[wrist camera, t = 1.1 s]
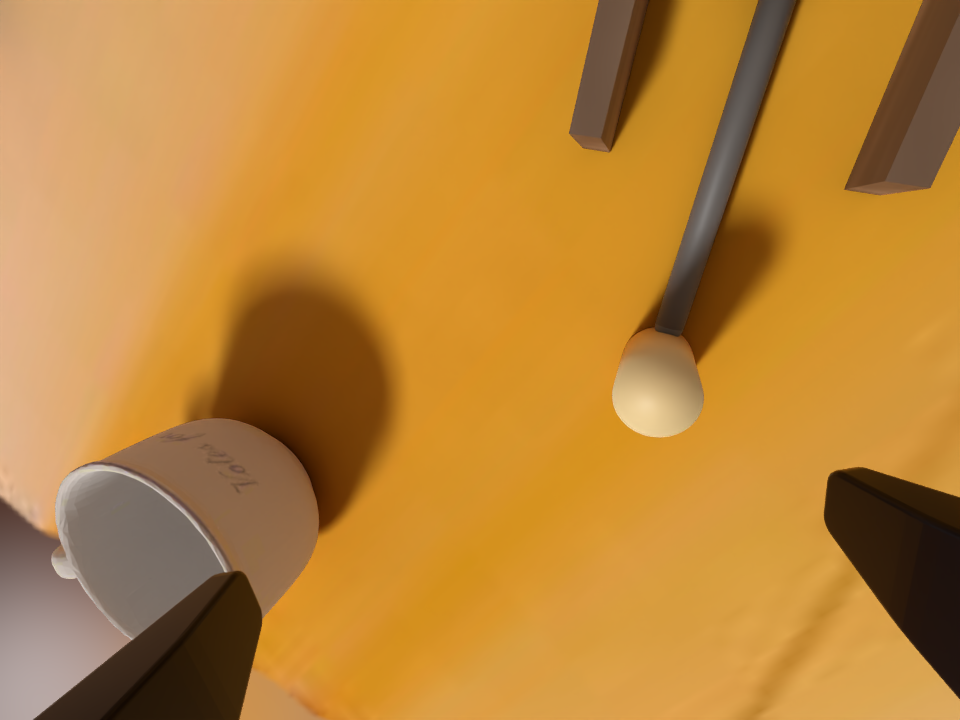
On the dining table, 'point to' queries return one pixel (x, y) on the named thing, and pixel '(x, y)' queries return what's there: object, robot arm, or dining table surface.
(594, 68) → the lane rack
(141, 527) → the teacup
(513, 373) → the dining table surface
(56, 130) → the dining table surface
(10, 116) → the dining table surface
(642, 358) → the mallet
